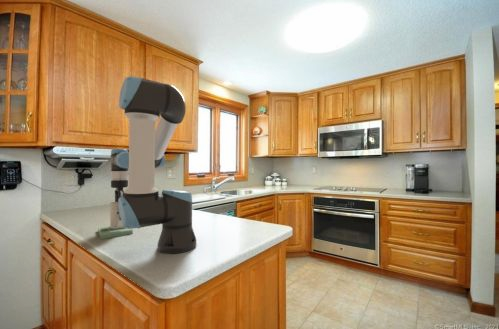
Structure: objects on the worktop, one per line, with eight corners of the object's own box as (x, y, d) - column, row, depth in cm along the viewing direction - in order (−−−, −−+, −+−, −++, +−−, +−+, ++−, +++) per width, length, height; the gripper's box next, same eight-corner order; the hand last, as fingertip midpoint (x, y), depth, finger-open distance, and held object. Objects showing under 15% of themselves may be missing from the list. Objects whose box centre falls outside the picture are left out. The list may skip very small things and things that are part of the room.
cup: (106, 227, 111) (106, 203, 111) (119, 223, 119) (119, 200, 119) (120, 228, 109) (120, 203, 110) (132, 224, 117) (132, 201, 117)
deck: (132, 233, 111) (132, 228, 111) (101, 239, 103) (101, 233, 103) (126, 226, 123) (126, 222, 123) (98, 231, 115) (98, 226, 115)
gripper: (131, 180, 108) (132, 227, 108) (124, 178, 125) (124, 219, 125) (113, 181, 104) (113, 230, 104) (108, 178, 120) (108, 221, 120)
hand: (119, 224), depth 114 cm, fingers closed on cup, 8 cm apart
